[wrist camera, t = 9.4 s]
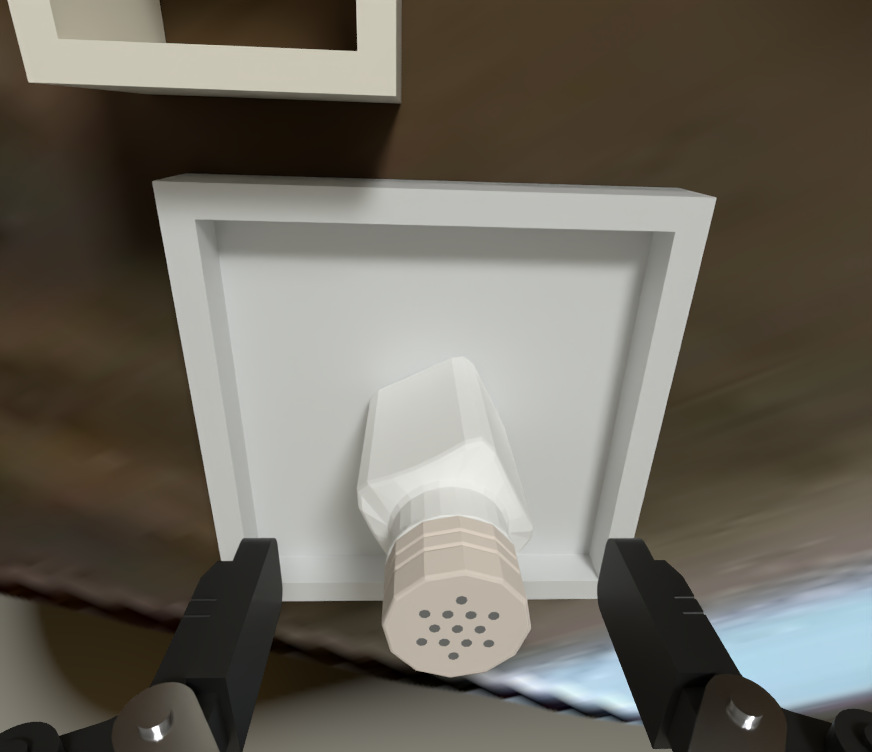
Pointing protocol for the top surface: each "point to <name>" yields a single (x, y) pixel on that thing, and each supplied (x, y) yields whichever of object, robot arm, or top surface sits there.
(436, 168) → the top surface
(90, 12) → the holder
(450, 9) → the top surface
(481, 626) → the pepper shaker
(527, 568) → the tray
